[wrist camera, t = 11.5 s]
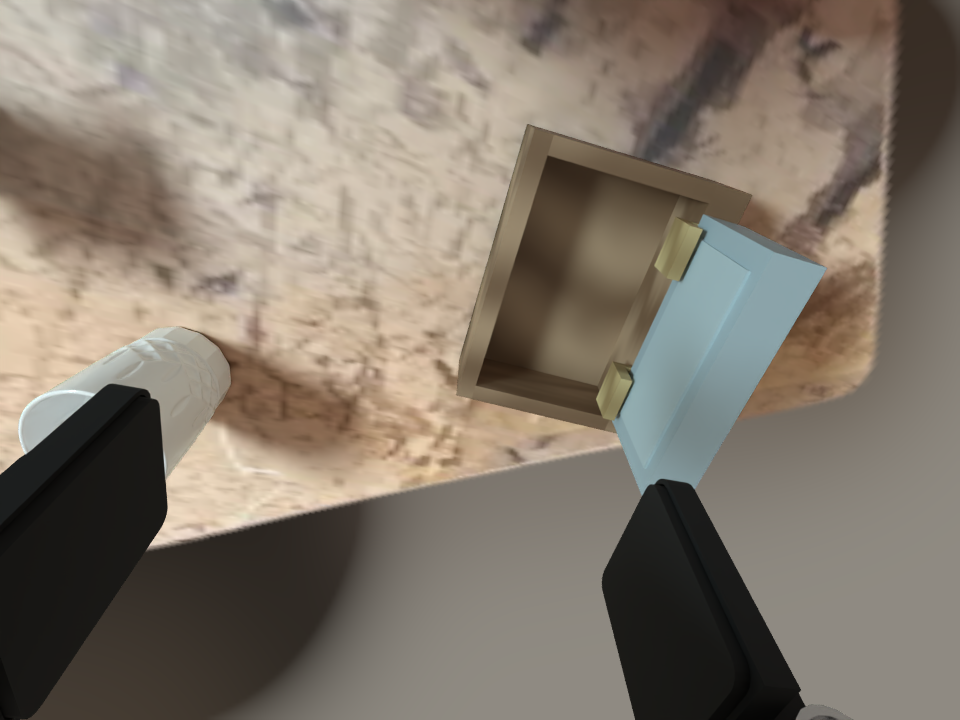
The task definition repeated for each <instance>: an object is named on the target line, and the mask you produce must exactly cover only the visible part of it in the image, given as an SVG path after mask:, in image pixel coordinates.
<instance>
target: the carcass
mask: <svg viewBox="0 0 960 720" xmlns="http://www.w3.org/2000/svg"><path fill="white" fill-rule="evenodd" d="M751 197H752V195H751V194H748V193H745V192H743V191H740V190H737V189H735V188H732V187H729V186H726V185H724V184H721V183H718V182H716V181H712V180H709V179H706V178H703V177H699V176H696V175H693V174H690V173H686V172H683V171H680V170H676V169H673V168H670V167H667V166H663V165H660V164H657V163H653V162H650V161H647V160H644V159H640V158H637V157H634V156H630V155H627V154H624V153H621V152H617V151H614V150H611V149H607V148H604V147H601V146H598V145H594V144H591V143H588V142H585V141H581V140H578V139H575V138H571V137H568V136H565V135H562V134H558V133H555V132H552V131H548V130H545V129H542V128H539V127H535V126H532V125H529V124H527V127H526V130H525V134H524V137H523V141H522V144H521V148H520V151H519V155H518V158H517V162H516V165H515V169H514V172H513V175H512V179H511V182H510V186H509V189H508V193H507V196H506V200H505V203H504V207H503V210H502V214H501V217H500V221H499V224H498V228H497V231H496V234H495V238H494V241H493V245H492V248H491V252H490V255H489V259H488V262H487V266H486V269H485V273H484V276H483V280H482V283H481V287H480V290H479V293H478V297H477V300H476V304H475V307H474V311H473V314H472V318H471V321H470V325H469V328H468V332H467V335H466V339H465V342H464V346H463V349H462V352H461V356H460V359H459V370H458V381H457V393H456V395H457V396H461V397H465V398H470V399H474V400H478V401H482V402H487V403H491V404H495V405H499V406H503V407H508V408H512V409H516V410H520V411H524V412H529V413H533V414H537V415H541V416H545V417H550V418H554V419H558V420H562V421H566V422H571V423H575V424H579V425H583V426H587V427H592V428H596V429H600V430H604V431H608V432H613V433H617V432H616V429H615V427H614V424H613V422H612V420H613V421H614V420H615V418H616V416H617V414H618V411H619V409H620V407H621V405H622V403H623V401H624V398H625V396H626V394H627V392H628V390H629V388H630V386H631V383H632V380H631V378H630V376H629V372H630V370H631V368H632V366H633V364H634V362H635V359H636V357H637V355H638V353H639V351H640V349H641V347H642V344H643V342H644V340H645V338H646V336H647V334H648V332H649V329H650V327H651V325H652V323H653V321H654V319H655V317H656V314H657V312H658V310H659V308H660V306H661V304H662V302H663V299H664V297H665V295H666V293H667V291H668V289H669V287H670V284H671V282H672V280H675V281H679V280H680V278H681V276H682V274H683V272H684V270H685V267H686V265H687V263H688V261H689V259H690V257H691V254H692V252H693V250H694V248H695V246H696V244H697V242H698V239H699V237H700V235H701V233H702V231H703V229H701V228H700V227H698V224H699V222H700V220H701V218H702V216H703V214H705V215H708V216H711V217H714V218H718V219H721V220H724V221H728V222H731V223H734V224H737V225H738V223H739V221H740V219H741V217H742V215H743V213H744V211H745V209H746V207H747V205H748V203H749V201H750V199H751Z"/></svg>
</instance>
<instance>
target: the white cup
mask: <svg viewBox="0 0 960 720" xmlns="http://www.w3.org/2000/svg"><path fill="white" fill-rule="evenodd" d="M112 383H113V384H119V385H125V386H131V387H136V388H142V389H146V390H148V391H149V393H150V396H151V398H152V399H156V400H158V402H159V405H160V416H161V429H162V442H163V454H164V467H165V480H166V479H167V478H168V477H169V475H170V474H171V473H172V471H173V470H174V469H175V467H176V466H177V465H178V463H179V462H180V461H181V459H182V458H183V457H184V455H185V454H186V453H187V451H188V450H189V449H190V447H191V446H192V445H193V443H194V442H195V440H196V439H197V437H198V436H199V434H200V433H201V432H202V430H203V429H204V427H205V426H206V424H207V423H208V422H209V420H210V419H211V417H212V416H213V414H214V412H215V410H216V408H217V407H218V406H219V404H220V403H221V402H222V400H223V399H224V397H225V395H226V393H227V391H228V389H229V387H230V385H231V375H230V365H229V364H228V362H227V360H226V359H225V357H224V355H223V354H222V352H221V350H220V349H219V347H217V346H216V345H215V344H214V343H212V342H211V341H210V340H208V339H207V338H206V337H204V336H203V335H202V334H200V333H197V332H194V331H191V330H188V329H185V328H182V327H166V328H157V329H155V330H153V331H152V332H150V333H148V334H147V335H145V336H144V337H142V338H141V339H139V340H137V341H135V342H133V343H131V344H129V345H126V346H123V347H121V348H120V349H118V350H116V351H114V352H112V353H111V354H109V355H107V356H106V357H104V358H102V359H100V360H98V361H96V362H95V363H93V364H91V365H90V366H88V367H87V368H85V369H83V370H82V371H80V372H78V373H77V374H75V375H74V376H72V377H70V378H69V379H67V380H65V381H64V382H62V383H60V384H59V385H57V386H55V387H54V388H52V389H50V390H49V391H47V392H45V393H44V394H42V395H40V396H39V397H37V398H35V399H34V400H33V401H31V402H30V403H29V404H28V405H27V406H26V408H25V409H24V411H23V412H22V414H21V417H20V420H19V426H18V432H19V439H20V443H21V446H22V448H23V451H24V453H25V454H26V453H28V452H30V451H31V450H32V449H33V448H34V447H35V446H37V445H38V444H39V443H40V442H41V441H42V440H43V439H45V438H46V437H47V436H48V435H49V434H50V433H52V432H53V431H54V430H55V429H56V428H57V427H58V426H60V425H61V424H62V423H63V422H64V421H65V420H66V419H68V418H69V417H70V416H71V415H72V414H73V413H75V412H76V411H77V410H78V409H79V408H80V407H81V406H83V405H84V404H85V403H86V402H87V401H88V400H89V399H91V398H92V397H93V396H94V395H95V394H96V393H98V392H99V391H100V390H101V389H102V388H103V387H105V386H106V385H108V384H112Z"/></svg>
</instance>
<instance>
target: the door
mask: <svg viewBox="0 0 960 720" xmlns="http://www.w3.org/2000/svg"><path fill="white" fill-rule="evenodd" d="M698 227H700V228H701V229H703V231H702V233H701V235H700V237H699V239H698V242H697V244H696V246H695V248H694V250H693V252H692V254H691V257H690V259H689V261H688V263H687V265H686V267H685V270H684V272H683V274H682V276H681V278H680V280H679V281H675V280H672V282H671V284H670V287H669V289H668V291H667V293H666V295H665V297H664V299H663V302H662V304H661V306H660V308H659V310H658V312H657V314H656V317H655V319H654V321H653V323H652V325H651V327H650V329H649V332H648V334H647V336H646V338H645V340H644V342H643V344H642V347H641V349H640V351H639V353H638V355H637V357H636V359H635V362H634V364H633V366H632V368H631V370H630V372H629V376H630V378H631V380H632V383H631V386H630V388H629V390H628V392H627V394H626V396H625V398H624V401H623V403H622V405H621V407H620V409H619V411H618V414H617V416H616V418H615V420H614V421H613V420H612V422H613V424H614V427H615V429H616V432H617V434H618V437H619V439H620V442H621V444H622V447H623V449H624V452H625V455H626V457H627V460H628V462H629V465H630V467H631V470H632V472H633V475H634V477H635V479H636V482H637V485H638V487H639V490H640V492H641V495H643V493H644V491H645V489H646V488H647V486H648V485H650V484H655V483H656V481H658V480H659V479H668V480H674V481H680V482H686V483H689V484H691V485H692V487H693V488H694V490H695V488H696V486H697V484H698V483H699V481H700V479H701V478H702V476H703V474H704V473H705V471H706V470H707V468H708V466H709V464H710V463H711V461H712V460H713V458H714V456H715V455H716V453H717V451H718V449H719V448H720V446H721V445H722V443H723V441H724V440H725V438H726V436H727V435H728V433H729V431H730V430H731V428H732V426H733V424H734V423H735V421H736V420H737V418H738V416H739V415H740V413H741V411H742V410H743V408H744V406H745V405H746V403H747V401H748V400H749V398H750V396H751V395H752V393H753V391H754V389H755V388H756V386H757V384H758V383H759V381H760V379H761V378H762V376H763V374H764V373H765V371H766V369H767V368H768V366H769V364H770V363H771V361H772V359H773V358H774V356H775V354H776V353H777V351H778V349H779V348H780V346H781V344H782V343H783V341H784V339H785V338H786V336H787V334H788V333H789V331H790V329H791V328H792V326H793V324H794V323H795V321H796V319H797V318H798V316H799V314H800V313H801V311H802V309H803V308H804V306H805V304H806V303H807V301H808V299H809V298H810V296H811V294H812V293H813V291H814V289H815V288H816V286H817V284H818V283H819V281H820V279H821V278H822V276H823V274H824V273H825V271H826V269H827V268H826V267H824V266H822V265H820V264H818V263H816V262H814V261H812V260H810V259H808V258H806V257H804V256H802V255H800V254H798V253H796V252H794V251H792V250H790V249H788V248H786V247H784V246H782V245H780V244H778V243H776V242H774V241H772V240H770V239H768V238H766V237H764V236H762V235H760V234H758V233H756V232H754V231H752V230H750V229H748V228H746V227H744V226H741V225H737V224H734V223H731V222H728V221H724V220H721V219H718V218H714V217H711V216H708V215H705V214H703V216H702V218H701V220H700V222H699V224H698Z"/></svg>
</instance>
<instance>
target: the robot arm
mask: <svg viewBox="0 0 960 720" xmlns="http://www.w3.org/2000/svg"><path fill="white" fill-rule="evenodd" d="M166 515H167V493H166V480H165V467H164V454H163V442H162V429H161V416H160V405H159V402H158V400H156V399H152V398H151V396H150V393H149V391H148V390H146V389H142V388H136V387H131V386H125V385H119V384H113V383H112V384H108V385H106V386H105V387H103V388H102V389H101V390H100V391H99V392H98V393H96V394H95V395H94V396H93V397H92V398H91V399H89V400H88V401H87V402H86V403H85V404H84V405H83V406H81V407H80V408H79V409H78V410H77V411H76V412H75V413H73V414H72V415H71V416H70V417H69V418H68V419H66V420H65V421H64V422H63V423H62V424H61V425H60V426H58V427H57V428H56V429H55V430H54V431H53V432H52V433H50V434H49V435H48V436H47V437H46V438H45V439H43V440H42V441H41V442H40V443H39V444H38V445H37V446H35V447H34V448H33V449H32V450H31V451H30V452H28V453H26V454H25V455H23V456H22V457H21V458H19V459H18V460H17V461H16V462H14V463H13V464H12V465H11V466H10V467H9V468H8V469H6V470H5V471H4V472H3V473H2V474H1V475H0V720H20V719H28V718H30V717H31V716H33V715H34V714H35V713H36V712H37V710H38V709H39V708H40V706H41V705H42V704H43V702H44V701H45V699H46V698H47V696H48V695H49V693H50V691H51V690H52V689H53V687H54V686H55V684H56V683H57V681H58V680H59V679H60V677H61V676H62V674H63V673H64V671H65V670H66V668H67V667H68V665H69V664H70V662H71V661H72V659H73V658H74V656H75V655H76V653H77V652H78V650H79V649H80V647H81V646H82V644H83V643H84V641H85V640H86V638H87V637H88V635H89V634H90V632H91V631H92V629H93V628H94V627H95V625H96V624H97V622H98V621H99V619H100V618H101V616H102V615H103V613H104V612H105V610H106V609H107V607H108V606H109V604H110V603H111V601H112V600H113V598H114V597H115V595H116V594H117V592H118V591H119V589H120V588H121V586H122V585H123V583H124V582H125V581H126V579H127V578H128V576H129V575H130V573H131V572H132V570H133V569H134V567H135V565H136V564H137V563H138V561H139V560H140V558H141V557H142V555H143V554H144V552H145V551H146V549H147V548H148V546H149V545H150V543H151V542H152V540H153V539H154V537H155V536H156V534H157V533H158V532H159V530H160V529H161V527H162V525H163V523H164V521H165V518H166ZM602 590H603V594H604V598H605V602H606V606H607V610H608V614H609V618H610V622H611V625H612V630H613V633H614V638H615V641H616V645H617V649H618V653H619V657H620V661H621V665H622V669H623V673H624V677H625V681H626V685H627V689H628V693H629V697H630V701H631V705H632V709H633V713H634V716H635V720H853V719H851V718H850V717H848V716H846V715H844V714H843V713H841V712H840V711H838V710H836V709H833V708H830V707H827V706H824V705H808V706H805V705H804V703H803V701H802V699H801V697H800V695H799V692H800V691H801V689H800V687H799V685H798V683H797V682H796V679H795V678H794V676H793V674H792V672H791V670H790V668H789V667H788V664H787V663H786V661H785V659H784V657H783V655H782V653H781V651H780V650H779V648H778V646H777V644H776V642H775V640H774V638H773V636H772V634H771V633H770V631H769V629H768V627H767V625H766V623H765V621H764V619H763V617H762V616H761V614H760V612H759V610H758V608H757V606H756V604H755V603H754V601H753V599H752V597H751V595H750V593H749V591H748V589H747V587H746V586H745V584H744V582H743V580H742V578H741V576H740V574H739V572H738V570H737V569H736V567H735V565H734V563H733V561H732V559H731V557H730V555H729V554H728V552H727V550H726V548H725V546H724V544H723V542H722V540H721V539H720V537H719V535H718V533H717V531H716V529H715V527H714V526H713V523H712V522H711V520H710V518H709V516H708V514H707V512H706V510H705V509H704V507H703V505H702V503H701V501H700V499H699V497H698V495H697V494H696V492H695V490H694V488H693V487H692V485H691V484H689V483H686V482H680V481H674V480H668V479H659V480H658V481H656V483H655V484H650V485H648V486H647V488H646V489H645V491H644V493H643V495H642V497H641V499H640V502H639V503H638V505H637V507H636V509H635V511H634V513H633V515H632V517H631V519H630V521H629V523H628V525H627V527H626V529H625V531H624V533H623V535H622V537H621V539H620V541H619V543H618V545H617V547H616V549H615V551H614V553H613V554H612V557H611V559H610V560H609V563H608V564H607V566H606V568H605V570H604V573H603V577H602Z"/></svg>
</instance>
